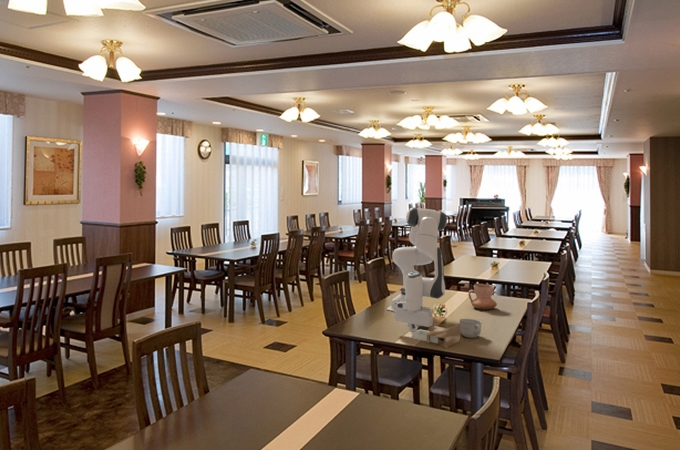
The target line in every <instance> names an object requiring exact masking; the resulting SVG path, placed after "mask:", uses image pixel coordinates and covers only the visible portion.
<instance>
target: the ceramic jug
mask: <svg viewBox="0 0 680 450" xmlns="http://www.w3.org/2000/svg"><path fill="white" fill-rule="evenodd" d="M494 290H495V286H494V285H492V284H491V285H490V284H474V285H473V289H469V291H468V292H467V293H468V294H467V296H468V298H469V300H470V303H471V306H472V307H473V308H474V309H478V310H483V311H489V310H493V309H494V308H496V307H497V305H498V303H497V302H496V300H494V299H492V296H493V295H494V294H496V295H498V293H499V291H497V290H496V291H494ZM471 293H473V294H475V296H476V297H475V299H473V298H472V297H471V296H472V295H471Z"/></svg>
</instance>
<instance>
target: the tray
mask: <svg viewBox="0 0 680 450" xmlns="http://www.w3.org/2000/svg"><path fill="white" fill-rule="evenodd" d="M430 331H431V330H429V331H426V330H421V329H420V330H417V331H416V332H413V333H412V332H411V333H412V334H411V336H412V337H411V339H413V340H414V339H415V340H419V341H424V342H427V333H428V332H430ZM439 340H444V341H445V338H441V337H436V336H431V335H430V343H434V344H439Z"/></svg>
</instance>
